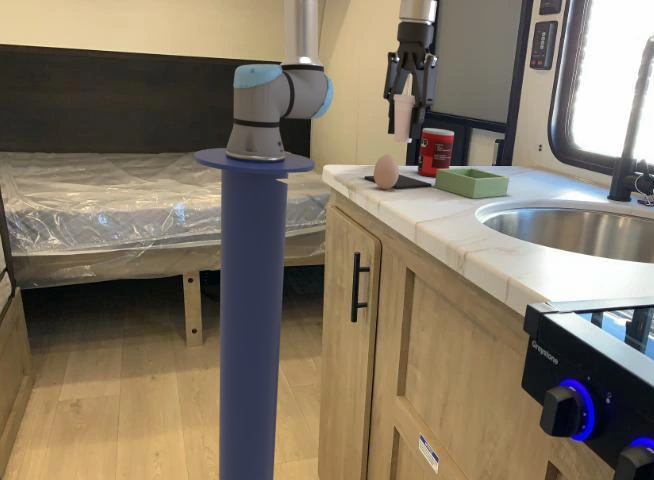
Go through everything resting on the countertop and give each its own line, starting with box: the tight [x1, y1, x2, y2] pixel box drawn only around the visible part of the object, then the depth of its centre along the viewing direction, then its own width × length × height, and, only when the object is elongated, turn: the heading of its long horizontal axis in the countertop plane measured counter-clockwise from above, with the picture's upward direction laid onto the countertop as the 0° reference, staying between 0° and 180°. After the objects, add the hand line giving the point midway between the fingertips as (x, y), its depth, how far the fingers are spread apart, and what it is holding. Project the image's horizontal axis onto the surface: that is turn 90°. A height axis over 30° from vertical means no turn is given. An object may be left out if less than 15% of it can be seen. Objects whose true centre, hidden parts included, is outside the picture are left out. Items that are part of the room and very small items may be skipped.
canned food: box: [417, 127, 455, 178], centre depth 150 cm, size 8×8×11 cm
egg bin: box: [434, 167, 510, 199], centre depth 135 cm, size 12×12×4 cm
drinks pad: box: [364, 174, 433, 190], centre depth 137 cm, size 11×11×1 cm
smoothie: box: [394, 74, 415, 144], centre depth 131 cm, size 6×6×14 cm
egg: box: [373, 153, 400, 190], centre depth 127 cm, size 5×5×7 cm
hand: (403, 135), depth 133 cm, fingers closed on smoothie, 6 cm apart
